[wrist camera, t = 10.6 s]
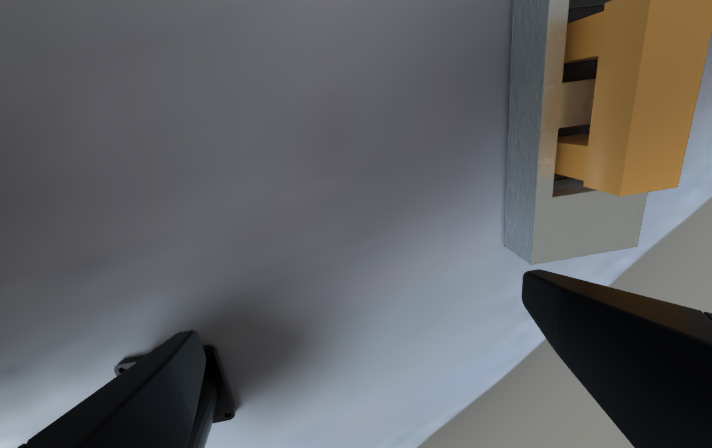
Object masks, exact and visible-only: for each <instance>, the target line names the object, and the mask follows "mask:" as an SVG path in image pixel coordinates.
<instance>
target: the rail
mask: <svg viewBox="0 0 712 448" xmlns="http://www.w3.org/2000/svg"><path fill="white" fill-rule="evenodd" d="M609 1H612V0H513V12H512V40H511V68H510V96H509V123H508V151H507V179H506V207H505V235H504V246H505V247H507V248H508V249H509V250H511V251H512V252H514V253H515V254H516V255H518V256H519V257H521V258H522V259H523V260H525V261H526V262H528V263H529V264H531V265H534V264H539V263H545V262H551V261H557V260H562V259H568V258H574V257H580V256H585V255H591V254H597V253H603V252H608V251H614V250H620V249H626V248H632V247H637V246H638V241H639V235H640V230H641V225H642V219H643V214H644V209H645V203H646V198H647V193H648V192H644V193H638V194H632V195H626V196H616V195H612V194H609V193H605V192H602V191H598V190H595V189H591V188H587V187H584V186H583V184H584V181H583V180H579V179H575V178H570V179H564V180H558V181H554V171H555V160H556V148H557V137H558V128H564V127H572V126H579V125H586V124H591V116H592V107H593V99H594V90H595V82H596V78H594V79H586V80H579V81H571V82H563V83H562V78H563V67H564V55H565V44H566V32H567V20H568V9H572V8H581V7H590V6H599V5H605V3H607V2H609Z"/></svg>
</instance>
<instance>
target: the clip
mask: <svg viewBox="0 0 712 448" xmlns="http://www.w3.org/2000/svg"><path fill="white" fill-rule="evenodd" d="M711 32H712V0H612V1H609V2H607V3H605V5H604V11H602V12H600V13H597V14H594V15H591V16H588V17H585V18H582V19H579V20H576V21H573V22H570V23H568V24H567V32H566V44H565V55H564V64H565V63H573V62H581V61H589V60H595V59H598V65H597V73H596V82H595V90H594V99H593V107H592V116H591V124H590V133H589V134H575V135H568V136H561V137H557V148H556V160H555V171H554V173H555V174H559V175H563V176H567V177H571V178H575V179H579V180H583V181H584V184H583V186H584V187H587V188H591V189H595V190H598V191H602V192H605V193H609V194H612V195H616V196H626V195H632V194H638V193H644V192H650V191H657V190H663V189H669V188H675V187H678V183H679V179H680V174H681V170H682V165H683V161H684V156H685V151H686V147H687V142H688V138H689V133H690V129H691V124H692V119H693V115H694V110H695V106H696V101H697V97H698V92H699V87H700V83H701V78H702V74H703V69H704V65H705V60H706V55H707V51H708V46H709V42H710V37H711Z"/></svg>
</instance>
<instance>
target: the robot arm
mask: <svg viewBox="0 0 712 448" xmlns="http://www.w3.org/2000/svg"><path fill="white" fill-rule="evenodd" d="M522 301H523V304H524V306H525V308H526V309H527V311H528V312H529V314H530V315H531V317H532V318H533V320H534V321H535V323H536V324H537V326H538V327H539V328H540V330H541V331H542V333H543V334H544V336H545V337H546V339H547V340H548V342H549V343H550V345H551V346H552V347H553V349H554V350H555V351H556V353H557V354H558V355H559V357H560V358H561V359H562V360H563V362H564V363H565V364H566V365H567V366H568V368H569V369H570V370H571V371H572V373H573V374H574V375H575V376H576V377H577V379H578V380H579V381H580V382H581V383H582V385H583V386H584V387H585V388H586V389H587V391H588V392H589V393H590V394H591V395H592V397H593V398H594V399H595V400H596V402H597V403H598V404H599V405H600V406H601V408H602V409H603V410H604V411H605V412H606V414H607V415H608V416H609V417H610V418H611V420H612V421H613V422H614V423H615V424H616V426H617V427H618V428H619V429H620V430H621V432H622V433H623V434H624V435H625V437H626V438H627V439H628V440H629V441H630V443H631V444H632V445H633V446H634V447H635V448H712V313H708V312H704V313H703V312H702V311H700V310H696V309H692V308H688V307H685V306H680V305H677V304H673V303H669V302H665V301H661V300H657V299H653V298H649V297H645V296H642V295H638V294H634V293H630V292H626V291H622V290H618V289H614V288H611V287H607V286H603V285H599V284H595V283H591V282H587V281H583V280H579V279H575V278H572V277H568V276H564V275H560V274H556V273H552V272H548V271H544V270H532V271H527V272H525V273H524V275H523V284H522ZM205 352H208V353H210V354H206V353H205ZM124 368H125V369H124ZM114 371H115V374H116V376H117V377H116V378H114V379H113V380H111V381H110V382H109V383H107V384H106V385H105V386H103V387H102V388H100V389H99V390H98V391H96V392H95V393H93V394H92V395H91V396H89V397H88V398H86V399H85V400H84V401H82V402H81V403H79V404H78V405H77V406H75V407H74V408H72V409H71V410H70V411H68V412H67V413H65V414H64V415H63V416H61V417H60V418H59V419H57V420H56V421H54V422H53V423H52V424H50V425H49V426H47V427H46V428H45V429H43V430H42V431H40V432H39V433H38V434H36V435H35V436H33V437H32V438H31V439H29V440H28V442H27V444H22V445H21V446H19V447H18V448H204V447H205V444H206V441H207V438H208V435H209V432H210V429H211V426H212V423H216V422H221V421H226V420H230V419H232V418H234V416H235V412H236V409H235V405H234V402H233V399H232V396H231V393H230V390H229V387H228V384H227V381H226V378H225V375H224V372H223V369H222V366H221V363H220V360H219V357H218V354H217V351H216V349H215V348H214V347H213V346H210V345H206V346H202V344H201V341H200V338H199V335H198V333H197V332H196V331H194V330H190V331H184V332H179V333H177V334H176V335H174V336H173V337H171V338H170V339H169V340H167V341H166V342H164V343H163V344H162V345H160V346H159V347H157V348H156V349H155V350H153V351H152V352H151V353H149V354H148V355H146V356H142V357H139V358H133V359H128V360H123V361H120V362H119V363H118V364H117V366H116V367H115V369H114ZM227 412H229V413H227Z"/></svg>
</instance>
